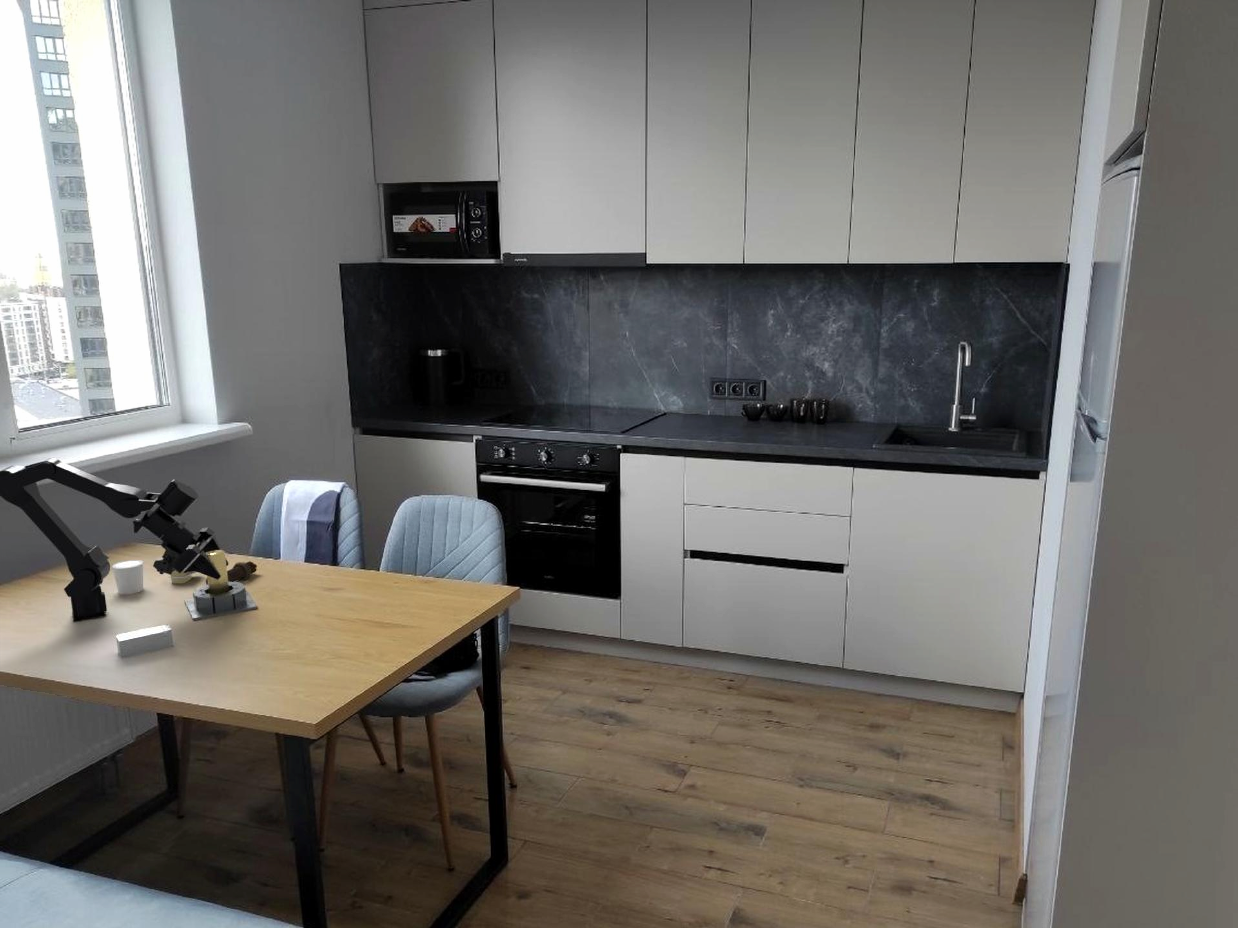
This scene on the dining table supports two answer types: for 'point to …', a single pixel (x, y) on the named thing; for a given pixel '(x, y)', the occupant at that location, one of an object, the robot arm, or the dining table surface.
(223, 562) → the pale yellow tall bar
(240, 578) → the bolt
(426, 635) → the dining table surface
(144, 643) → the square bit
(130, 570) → the shot glass
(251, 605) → the socket block
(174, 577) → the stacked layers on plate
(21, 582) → the dining table surface
